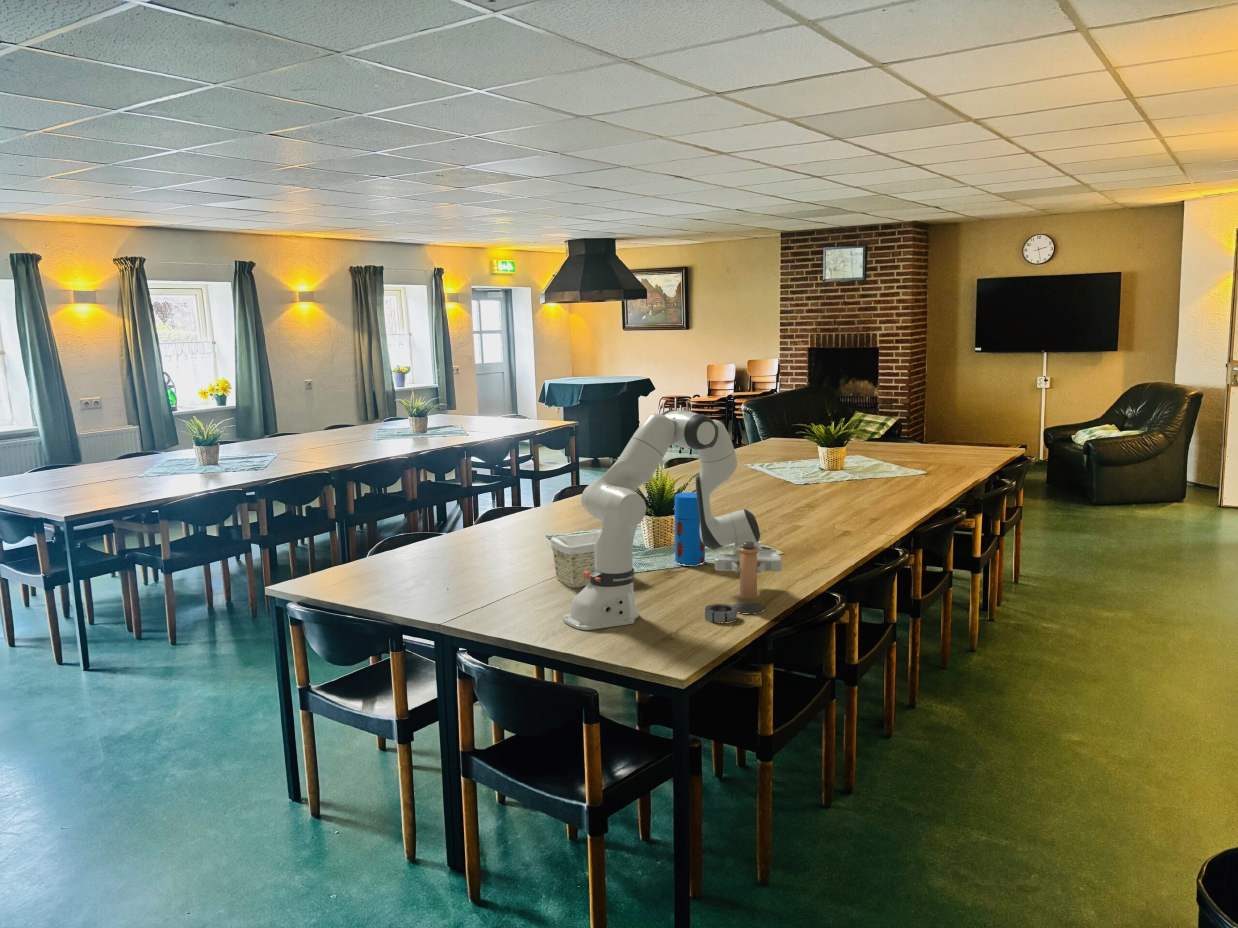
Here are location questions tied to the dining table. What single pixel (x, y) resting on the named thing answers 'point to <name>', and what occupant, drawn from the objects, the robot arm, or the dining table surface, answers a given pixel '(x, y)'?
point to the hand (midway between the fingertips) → (748, 569)
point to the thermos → (688, 530)
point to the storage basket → (574, 557)
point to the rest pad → (749, 607)
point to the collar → (720, 613)
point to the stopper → (748, 570)
